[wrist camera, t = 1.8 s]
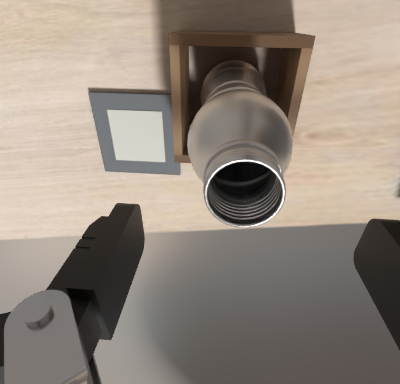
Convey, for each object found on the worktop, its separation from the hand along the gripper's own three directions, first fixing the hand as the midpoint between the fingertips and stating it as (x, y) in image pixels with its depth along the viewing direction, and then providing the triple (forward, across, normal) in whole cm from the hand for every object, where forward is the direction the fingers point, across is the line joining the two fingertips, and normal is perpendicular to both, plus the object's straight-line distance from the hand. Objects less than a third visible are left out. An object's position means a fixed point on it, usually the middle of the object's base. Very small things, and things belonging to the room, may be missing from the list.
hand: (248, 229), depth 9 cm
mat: (+22, +11, +5) cm, 25 cm away
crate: (+22, 0, 0) cm, 22 cm away
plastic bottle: (+22, 0, 0) cm, 23 cm away
